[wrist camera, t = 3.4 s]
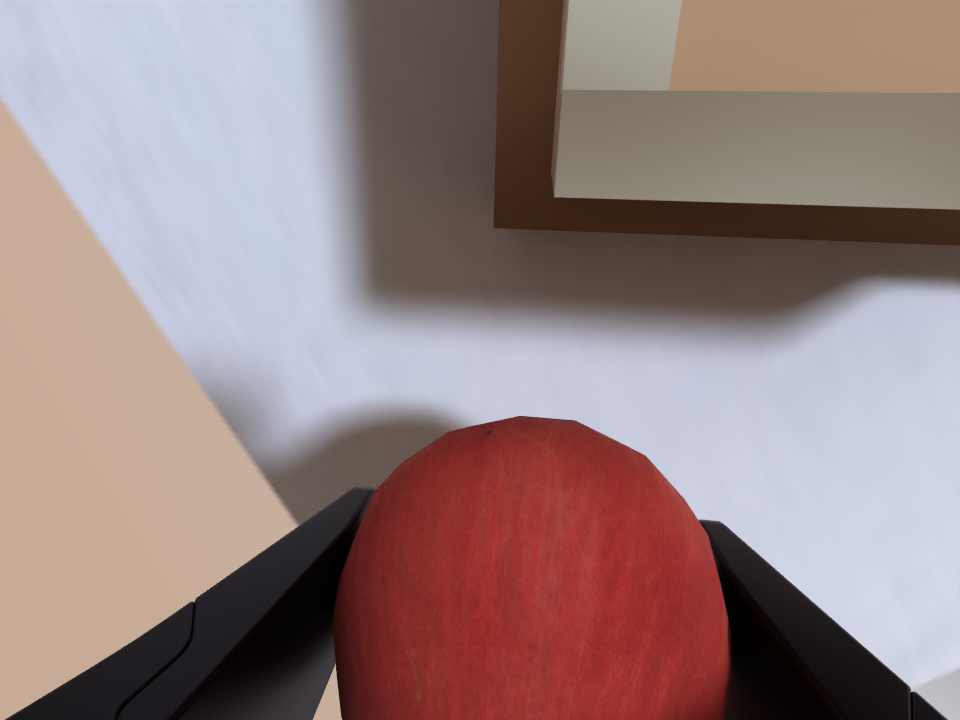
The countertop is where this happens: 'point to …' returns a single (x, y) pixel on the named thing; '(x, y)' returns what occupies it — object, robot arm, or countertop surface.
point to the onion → (530, 586)
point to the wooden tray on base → (731, 118)
